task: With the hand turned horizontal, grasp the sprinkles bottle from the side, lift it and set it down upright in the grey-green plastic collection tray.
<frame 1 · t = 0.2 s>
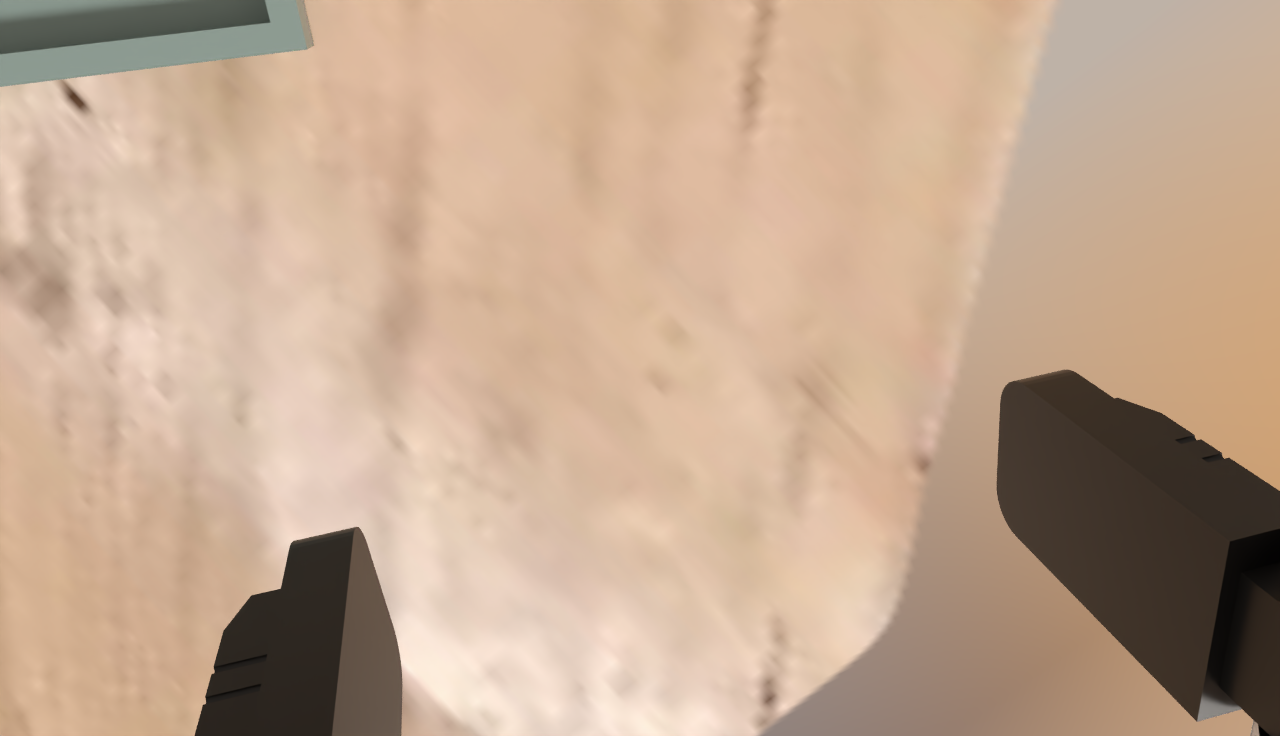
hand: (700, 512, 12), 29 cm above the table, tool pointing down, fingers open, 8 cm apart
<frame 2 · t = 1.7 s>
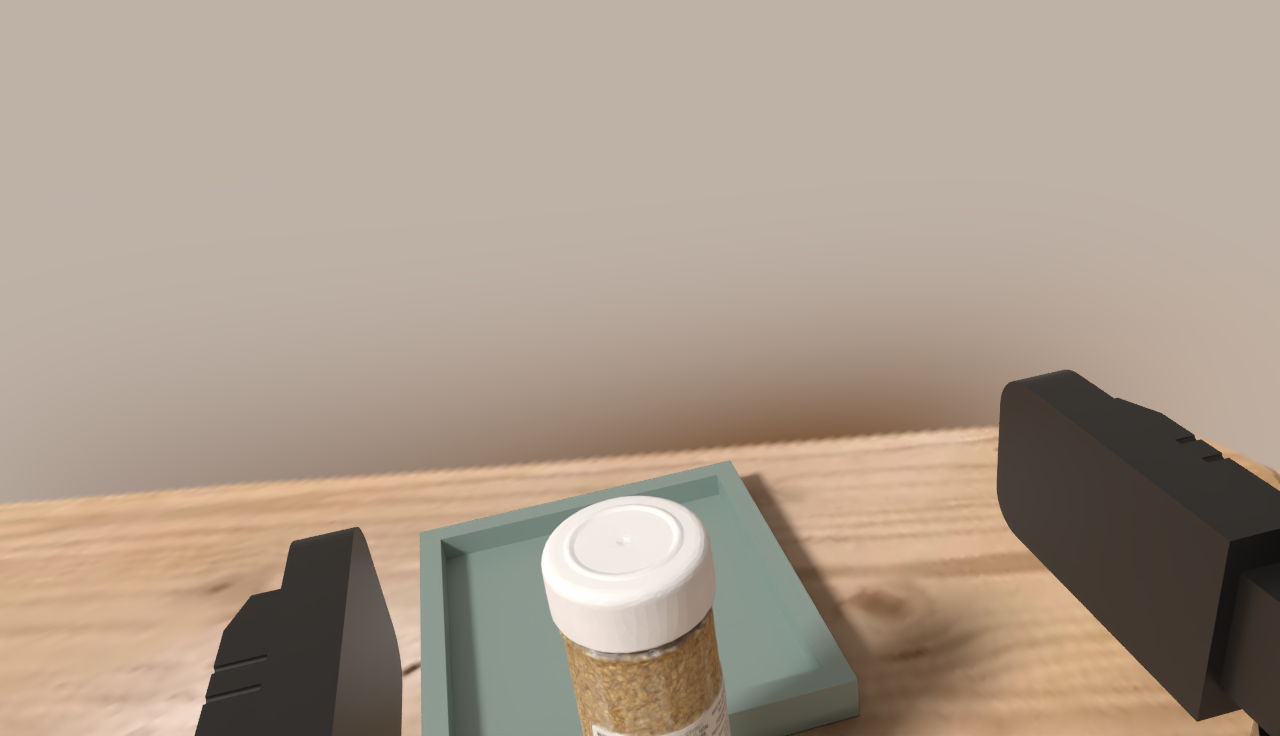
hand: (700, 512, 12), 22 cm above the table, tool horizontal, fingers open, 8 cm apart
tray: (612, 627, 42), on the table
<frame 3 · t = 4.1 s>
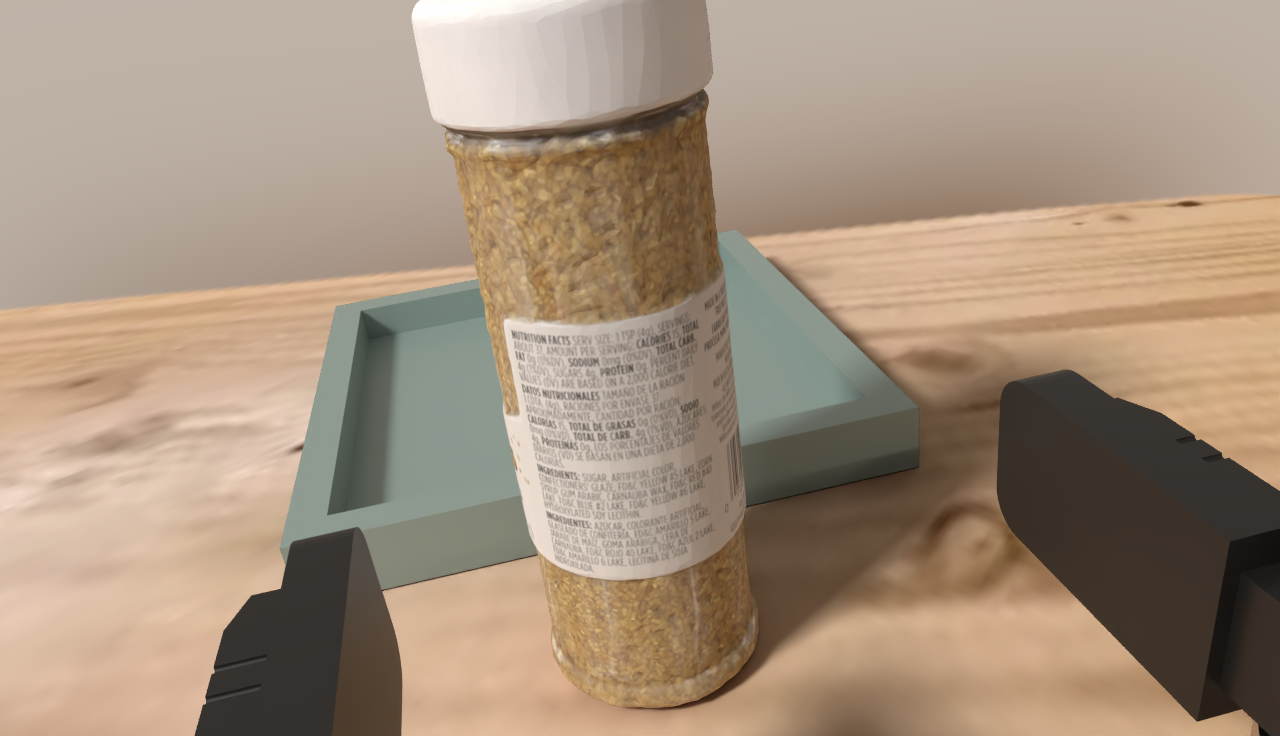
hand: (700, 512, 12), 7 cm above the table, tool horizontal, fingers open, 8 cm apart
tray: (577, 395, 31), on the table
sprinkles bottle: (658, 647, 21), on the table
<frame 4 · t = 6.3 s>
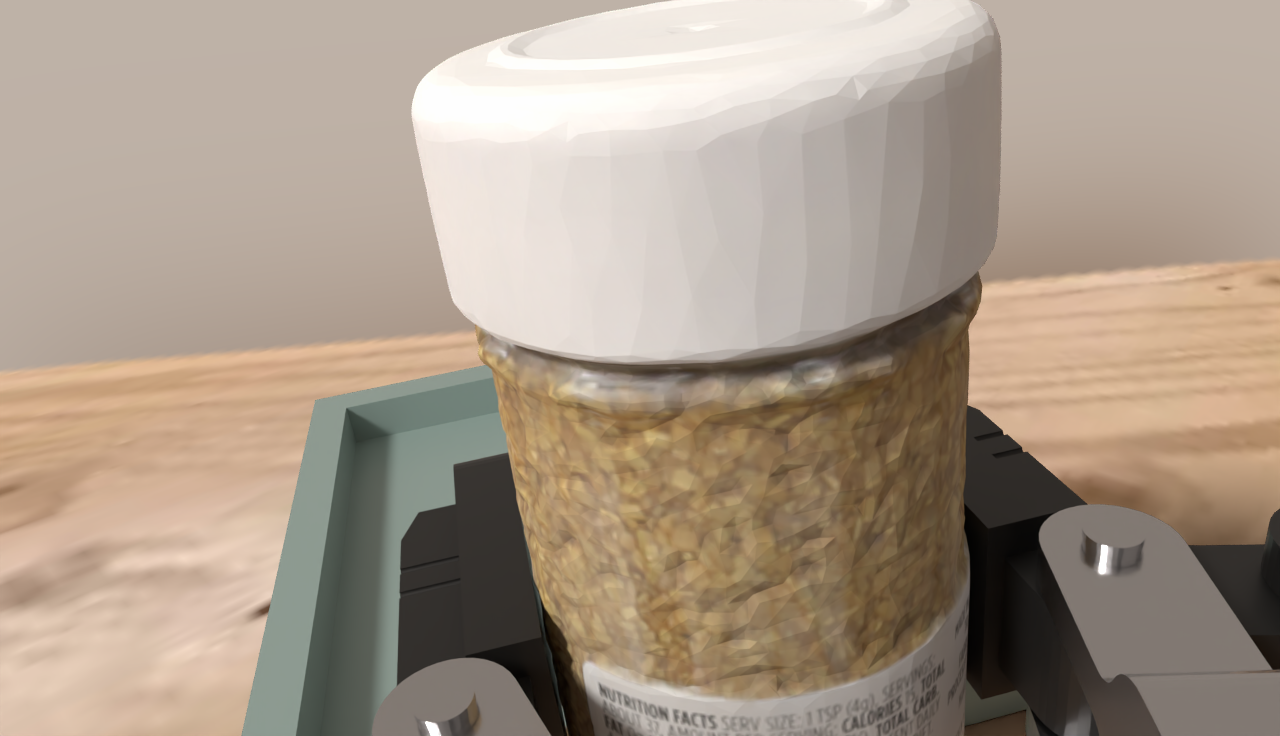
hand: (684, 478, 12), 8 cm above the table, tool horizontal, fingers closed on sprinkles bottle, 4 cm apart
tray: (626, 537, 24), on the table
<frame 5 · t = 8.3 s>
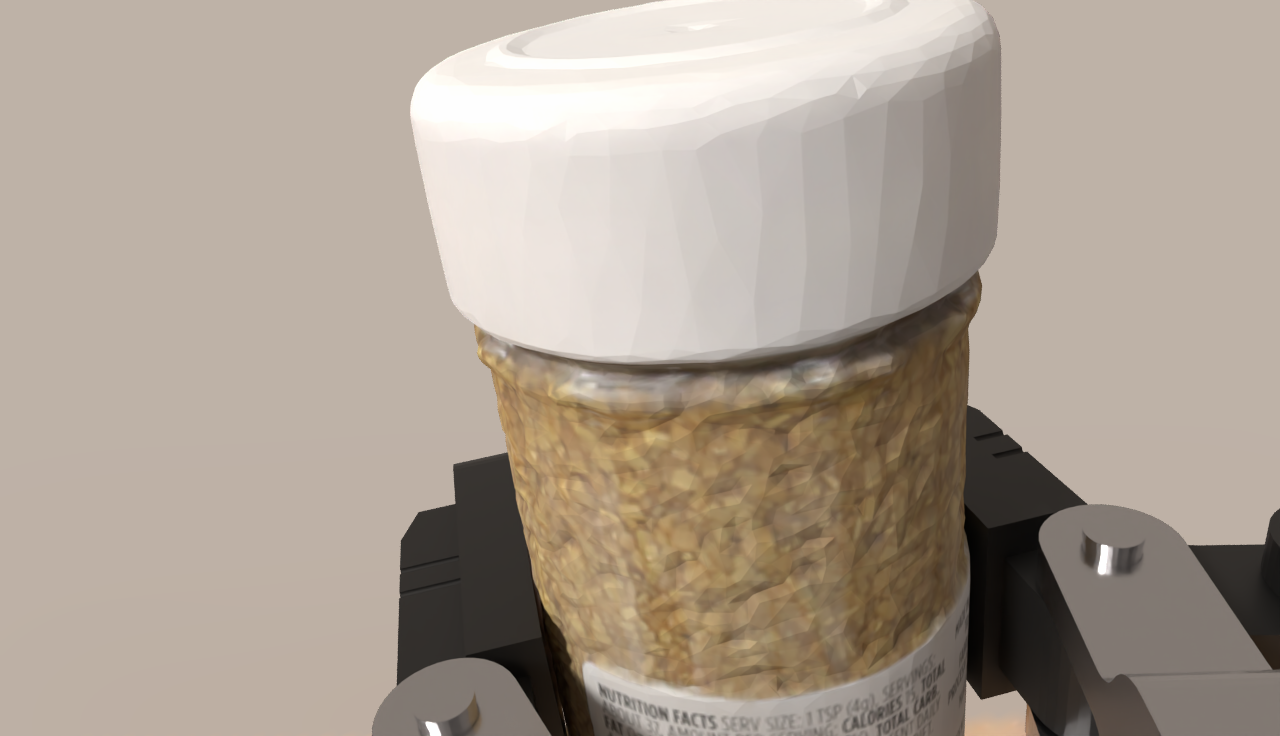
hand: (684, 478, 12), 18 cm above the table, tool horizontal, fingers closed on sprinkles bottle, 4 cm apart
when the fingers open (9 cm above the table, at t = 10.3 s): sprinkles bottle drops 1 cm, resting on tray.
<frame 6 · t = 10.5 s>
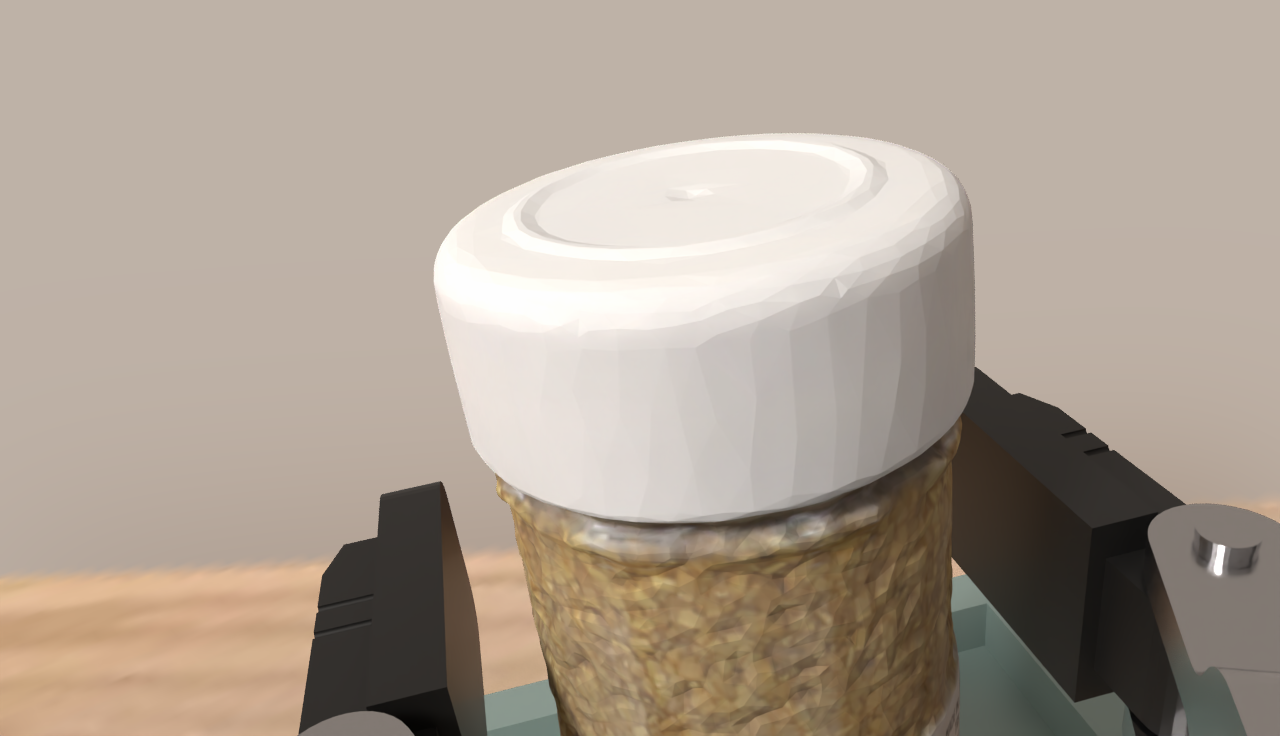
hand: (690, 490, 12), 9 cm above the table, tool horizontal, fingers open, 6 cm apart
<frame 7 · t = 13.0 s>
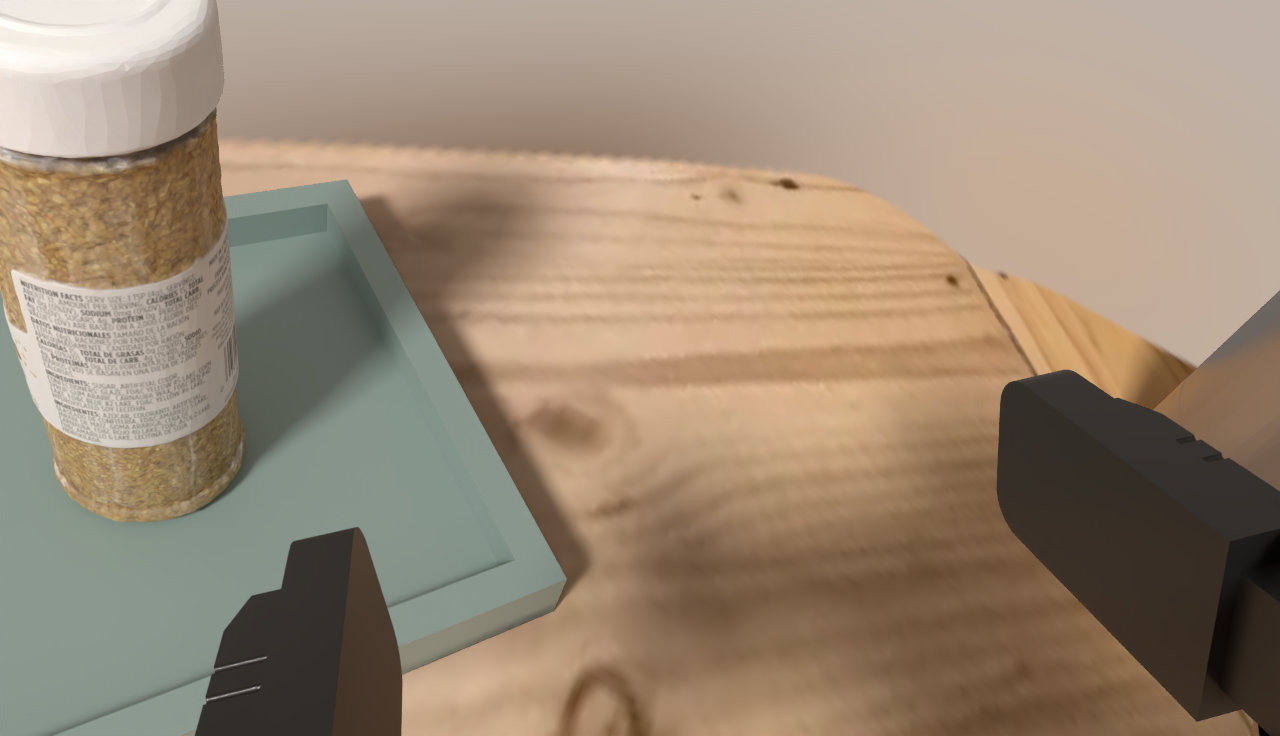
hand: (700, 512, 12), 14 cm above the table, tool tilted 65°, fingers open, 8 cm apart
tray: (154, 466, 25), on the table
sprinkles bottle: (156, 460, 25), resting on tray
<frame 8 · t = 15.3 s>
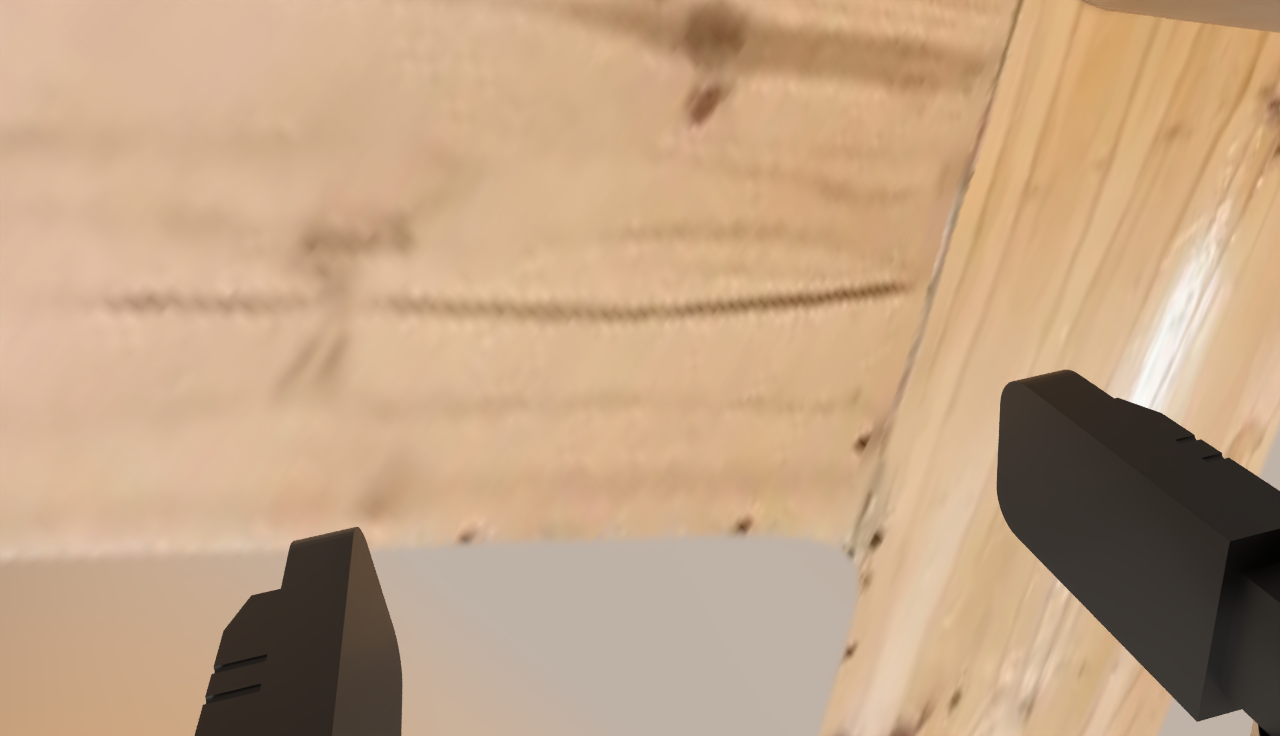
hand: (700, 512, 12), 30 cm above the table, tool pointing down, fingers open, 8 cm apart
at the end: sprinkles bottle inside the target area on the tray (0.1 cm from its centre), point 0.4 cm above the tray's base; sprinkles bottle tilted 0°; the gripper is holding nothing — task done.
